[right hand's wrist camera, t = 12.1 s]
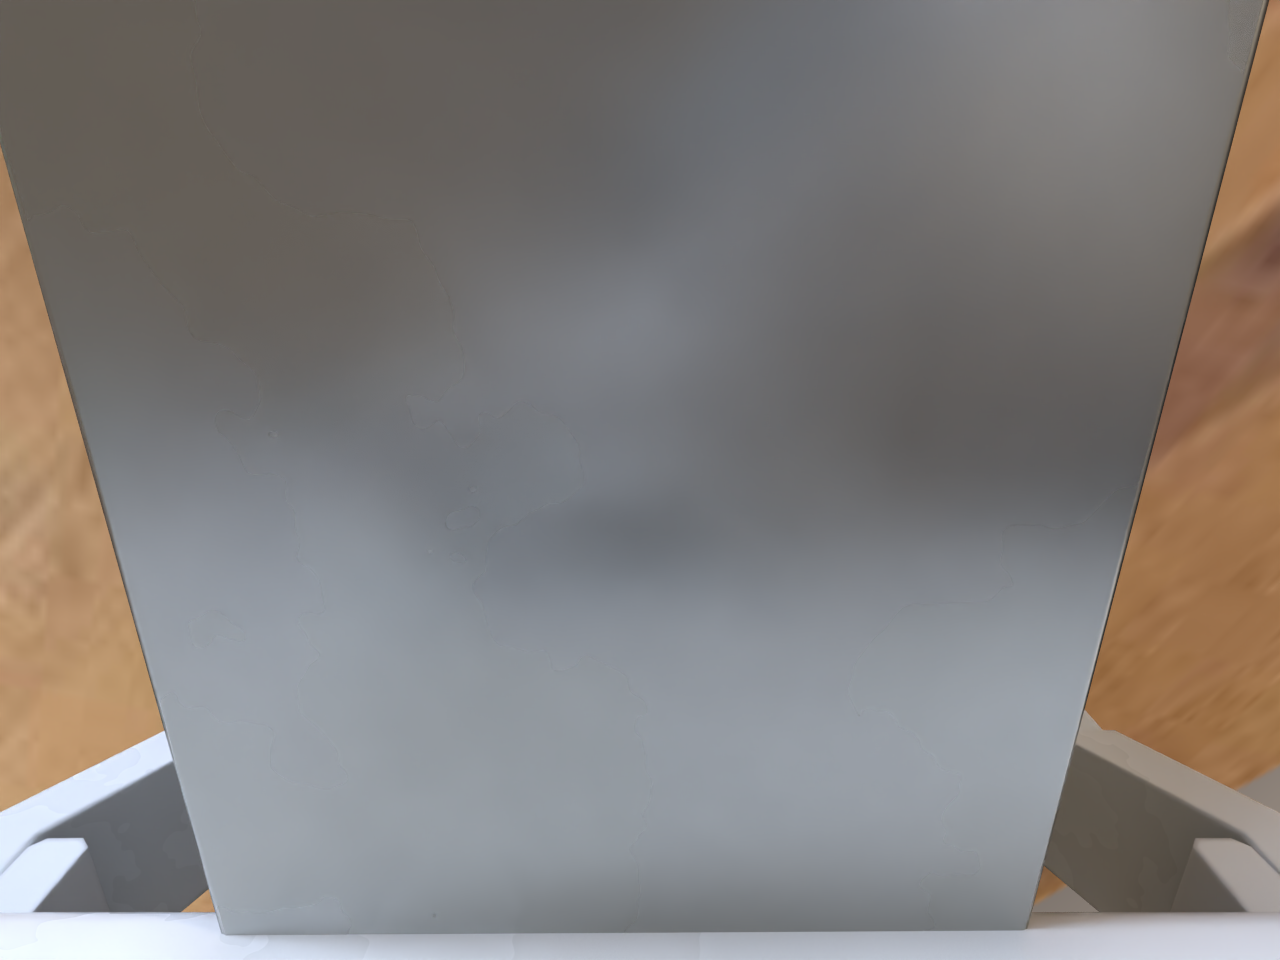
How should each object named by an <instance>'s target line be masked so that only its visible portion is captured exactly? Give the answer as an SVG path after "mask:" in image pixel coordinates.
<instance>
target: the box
mask: <svg viewBox="0 0 1280 960" xmlns="http://www.w3.org/2000/svg"><path fill="white" fill-rule="evenodd" d="M1268 3H1269V0H0V145H1V148H2V152H3V155H4V159H5V162H6V166H7V170H8V173H9V177H10V180H11V184H12V187H13V191H14V195H15V198H16V202H17V205H18V209H19V212H20V216H21V220H22V223H23V227H24V230H25V234H26V237H27V241H28V245H29V248H30V252H31V255H32V259H33V262H34V266H35V270H36V273H37V277H38V280H39V284H40V287H41V291H42V295H43V298H44V302H45V305H46V309H47V312H48V316H49V320H50V323H51V327H52V330H53V334H54V338H55V341H56V345H57V348H58V352H59V355H60V359H61V363H62V366H63V370H64V373H65V377H66V380H67V384H68V388H69V391H70V395H71V398H72V402H73V405H74V409H75V413H76V416H77V420H78V423H79V427H80V430H81V434H82V438H83V441H84V445H85V448H86V452H87V455H88V459H89V463H90V466H91V470H92V473H93V477H94V480H95V484H96V488H97V491H98V495H99V498H100V502H101V505H102V509H103V513H104V516H105V520H106V523H107V527H108V530H109V534H110V538H111V541H112V545H113V548H114V552H115V555H116V559H117V563H118V566H119V570H120V573H121V577H122V581H123V584H124V588H125V591H126V595H127V598H128V602H129V606H130V609H131V613H132V616H133V620H134V623H135V627H136V631H137V634H138V638H139V641H140V645H141V648H142V652H143V656H144V659H145V663H146V666H147V670H148V673H149V677H150V681H151V684H152V688H153V691H154V695H155V698H156V702H157V706H158V709H159V713H160V716H161V720H162V723H163V727H164V731H165V734H166V738H167V741H168V745H169V748H170V752H171V756H172V759H173V763H174V766H175V770H176V773H177V777H178V781H179V784H180V788H181V791H182V795H183V798H184V802H185V806H186V809H187V813H188V816H189V820H190V823H191V827H192V831H193V834H194V838H195V841H196V845H197V849H198V852H199V856H200V859H201V863H202V866H203V870H204V874H205V877H206V881H207V884H208V888H209V891H210V895H211V899H212V902H213V906H214V909H215V913H216V916H217V920H218V924H219V927H220V931H221V933H222V934H224V935H355V934H523V933H690V932H857V931H1023V930H1025V929H1027V928H1028V924H1029V920H1030V916H1031V913H1032V909H1033V905H1034V901H1035V897H1036V893H1037V889H1038V886H1039V882H1040V878H1041V874H1042V870H1043V866H1044V863H1045V859H1046V855H1047V851H1048V847H1049V843H1050V840H1051V836H1052V832H1053V828H1054V824H1055V820H1056V817H1057V813H1058V809H1059V805H1060V801H1061V797H1062V794H1063V790H1064V786H1065V782H1066V778H1067V774H1068V770H1069V767H1070V763H1071V759H1072V755H1073V751H1074V747H1075V744H1076V740H1077V736H1078V732H1079V728H1080V724H1081V721H1082V717H1083V713H1084V709H1085V705H1086V701H1087V698H1088V694H1089V690H1090V686H1091V682H1092V678H1093V674H1094V671H1095V667H1096V663H1097V659H1098V655H1099V651H1100V648H1101V644H1102V640H1103V636H1104V632H1105V628H1106V625H1107V621H1108V617H1109V613H1110V609H1111V605H1112V602H1113V598H1114V594H1115V590H1116V586H1117V582H1118V579H1119V575H1120V571H1121V567H1122V563H1123V559H1124V555H1125V552H1126V548H1127V544H1128V540H1129V536H1130V532H1131V529H1132V525H1133V521H1134V517H1135V513H1136V509H1137V506H1138V502H1139V498H1140V494H1141V490H1142V486H1143V483H1144V479H1145V475H1146V471H1147V467H1148V463H1149V460H1150V456H1151V452H1152V448H1153V444H1154V440H1155V436H1156V433H1157V429H1158V425H1159V421H1160V417H1161V413H1162V410H1163V406H1164V402H1165V398H1166V394H1167V390H1168V387H1169V383H1170V379H1171V375H1172V371H1173V367H1174V364H1175V360H1176V356H1177V352H1178V348H1179V344H1180V340H1181V337H1182V333H1183V329H1184V325H1185V321H1186V317H1187V314H1188V310H1189V306H1190V302H1191V298H1192V294H1193V291H1194V287H1195V283H1196V279H1197V275H1198V271H1199V268H1200V264H1201V260H1202V256H1203V252H1204V248H1205V245H1206V241H1207V237H1208V233H1209V229H1210V225H1211V221H1212V218H1213V214H1214V210H1215V206H1216V202H1217V198H1218V195H1219V191H1220V187H1221V183H1222V179H1223V175H1224V172H1225V168H1226V164H1227V160H1228V156H1229V152H1230V149H1231V145H1232V141H1233V137H1234V133H1235V129H1236V125H1237V122H1238V118H1239V114H1240V110H1241V106H1242V102H1243V99H1244V95H1245V91H1246V87H1247V83H1248V79H1249V76H1250V72H1251V68H1252V64H1253V60H1254V56H1255V53H1256V49H1257V45H1258V41H1259V37H1260V33H1261V30H1262V26H1263V22H1264V18H1265V14H1266V10H1267V6H1268Z"/></svg>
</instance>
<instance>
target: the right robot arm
mask: <svg viewBox="0 0 1280 960" xmlns="http://www.w3.org/2000/svg"><path fill="white" fill-rule="evenodd" d="M1044 866H1045V867H1046V868H1048V869H1049V870H1050V871H1051V872H1052V873H1053V874H1055V875H1056V876H1057V877H1058V878H1059V879H1061V880H1062V881H1063V882H1064V883H1065V884H1067V885H1068V886H1069V887H1070V888H1071V889H1073V890H1074V891H1075V892H1076V893H1077V894H1079V895H1080V896H1081V897H1082V898H1083V899H1084V900H1086V901H1087V902H1088V903H1089V904H1090V905H1092V906H1093V907H1094V908H1095V909H1096V910H1098V911H1099V912H1063V913H1062V912H1050V913H1049V912H1032V913H1031V916H1030V920H1029V924H1028V928H1027V929H1025V930H1023V931H857V932H690V933H523V934H355V935H224V934H222V933H221V931H220V927H219V924H218V920H217V916H216V913H215V912H181V911H183V910H184V909H185V908H186V907H187V906H189V905H190V904H191V903H192V902H193V901H195V900H196V899H197V898H198V897H199V896H201V895H202V894H203V893H204V892H205V891H207V890H208V889H209V888H208V884H207V881H206V877H205V874H204V870H203V866H202V863H201V859H200V856H199V852H198V849H197V845H196V841H195V838H194V834H193V831H192V827H191V823H190V820H189V816H188V813H187V809H186V806H185V802H184V798H183V795H182V791H181V788H180V784H179V781H178V777H177V773H176V770H175V766H174V763H173V759H172V756H171V752H170V748H169V745H168V741H167V738H166V734H165V731H163V732H161V733H159V734H157V735H155V736H153V737H151V738H149V739H147V740H145V741H143V742H141V743H139V744H137V745H135V746H133V747H131V748H129V749H127V750H125V751H123V752H121V753H119V754H117V755H115V756H113V757H111V758H109V759H107V760H105V761H103V762H101V763H99V764H97V765H95V766H93V767H91V768H89V769H87V770H85V771H83V772H81V773H79V774H77V775H75V776H73V777H71V778H69V779H67V780H65V781H63V782H61V783H59V784H57V785H55V786H53V787H51V788H49V789H47V790H44V791H42V792H40V793H38V794H36V795H34V796H32V797H30V798H28V799H26V800H24V801H22V802H20V803H18V804H16V805H14V806H12V807H10V808H8V809H6V810H4V811H2V812H0V960H1280V813H1279V812H1277V811H1275V810H1273V809H1271V808H1269V807H1267V806H1265V805H1263V804H1261V803H1259V802H1257V801H1255V800H1253V799H1251V798H1249V797H1247V796H1245V795H1243V794H1241V793H1239V792H1237V791H1235V790H1233V789H1231V788H1229V787H1227V786H1225V785H1223V784H1221V783H1219V782H1217V781H1215V780H1213V779H1211V778H1209V777H1207V776H1205V775H1203V774H1201V773H1199V772H1197V771H1195V770H1193V769H1191V768H1189V767H1187V766H1185V765H1183V764H1181V763H1179V762H1177V761H1175V760H1173V759H1171V758H1169V757H1167V756H1165V755H1163V754H1161V753H1159V752H1157V751H1155V750H1153V749H1151V748H1149V747H1147V746H1145V745H1143V744H1141V743H1139V742H1137V741H1135V740H1133V739H1131V738H1129V737H1127V736H1125V735H1123V734H1121V733H1119V732H1117V731H1115V730H1102V729H1101V728H1100V726H1099V725H1098V724H1097V723H1096V722H1095V721H1094V720H1093V719H1092V717H1091V716H1090V715H1089V714H1088V713H1087V712H1086V711H1085V710H1084V713H1083V717H1082V721H1081V724H1080V728H1079V732H1078V736H1077V740H1076V744H1075V747H1074V751H1073V755H1072V759H1071V763H1070V767H1069V770H1068V774H1067V778H1066V782H1065V786H1064V790H1063V794H1062V797H1061V801H1060V805H1059V809H1058V813H1057V817H1056V820H1055V824H1054V828H1053V832H1052V836H1051V840H1050V843H1049V847H1048V851H1047V855H1046V859H1045V863H1044Z"/></svg>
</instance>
